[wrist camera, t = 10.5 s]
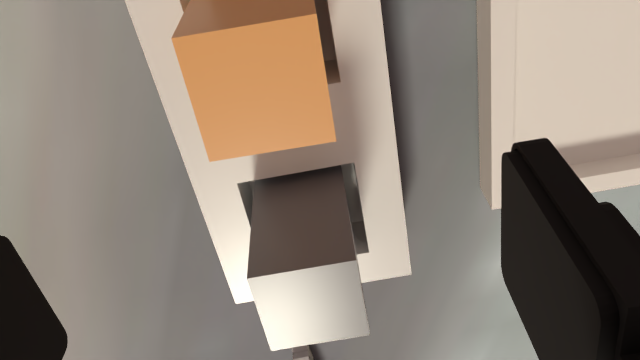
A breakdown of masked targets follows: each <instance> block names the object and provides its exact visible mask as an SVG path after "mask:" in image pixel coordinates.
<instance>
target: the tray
mask: <svg viewBox="0 0 640 360" xmlns="http://www.w3.org/2000/svg"><path fill="white" fill-rule="evenodd" d="M476 1H477V54H478V106H479V159H480V188H481V190H482V192H483V194H484V196H485V198H486V200H487V201H488V203H489V205H490V207H491V209H492V210H493V209H499V208H501V160H502V154H503V153H505V152H511V148H512V145H513V144H514V143H516V142H522V141H528V140H534V139H540V138H547V139H549V140H550V141H551V143H552V144H553V145H554V147H555V148H556V149H557V150H558V152H559V153H560V154H561V156H562V157H563V158H564V159H565V161H566V162H567V163H568V165H569V166H570V167H571V168H572V170H573V171H574V172H575V174H576V175H577V176H578V177H579V179H580V180H581V181H582V183H583V184H584V185H585V186H586V188H587V189H588V190H589V191H590V193H592V192H598V191H604V190H610V189H615V188H621V187H627V186H633V185H639V184H640V0H476Z"/></svg>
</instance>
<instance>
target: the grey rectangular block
mask: <svg viewBox="0 0 640 360" xmlns="http://www.w3.org/2000/svg"><path fill="white" fill-rule="evenodd" d="M247 281H248V284H249V287H250V290H251V293H252V296H253V298H254V301H255V304H256V307H257V310H258V313H259V316H260V319H261V322H262V325H263V328H264V331H265V334H266V337H267V340H268V343H269V346H270V349H271V351H274V350H280V349H286V348H293V347H299V346H305V345H311V344H317V343H323V342H329V341H336V340H342V339H348V338H354V337H360V336H366V335H370V331H369V325H368V319H367V313H366V307H365V301H364V295H363V289H362V283H361V277H360V271H359V265H358V259H357V253H356V247H355V241H354V235H353V229H352V223H351V217H350V211H349V206H348V200H347V195H346V189H345V184H344V178H343V173H342V167H341V165H338V166H332V167H327V168H321V169H315V170H310V171H304V172H299V173H293V174H287V175H282V176H276V177H271V178H265V179H259V180H254V192H253V205H252V218H251V231H250V244H249V257H248V270H247Z"/></svg>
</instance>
